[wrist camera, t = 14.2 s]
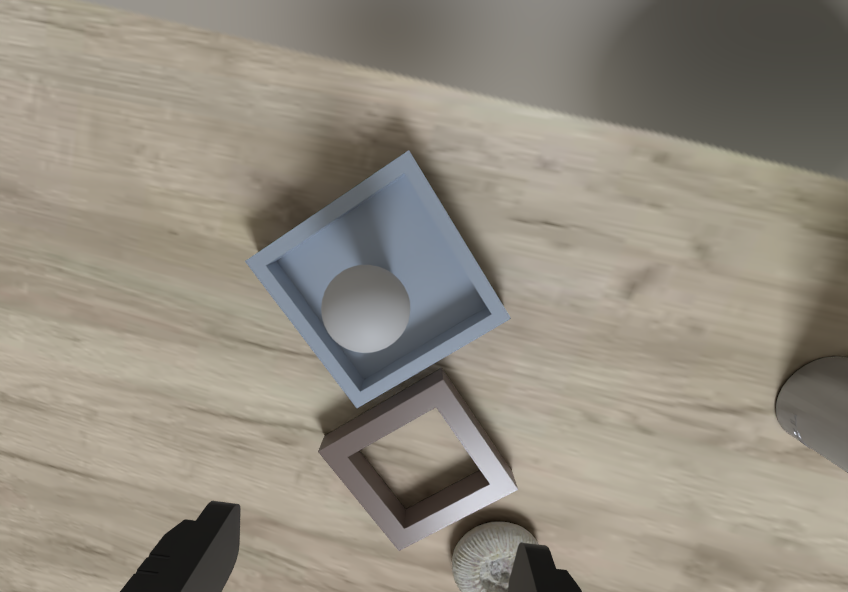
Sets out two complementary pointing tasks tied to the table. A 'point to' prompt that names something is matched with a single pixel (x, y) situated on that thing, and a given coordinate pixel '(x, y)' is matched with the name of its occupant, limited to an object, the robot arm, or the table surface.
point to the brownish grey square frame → (440, 507)
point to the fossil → (488, 556)
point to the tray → (394, 251)
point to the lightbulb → (365, 308)
